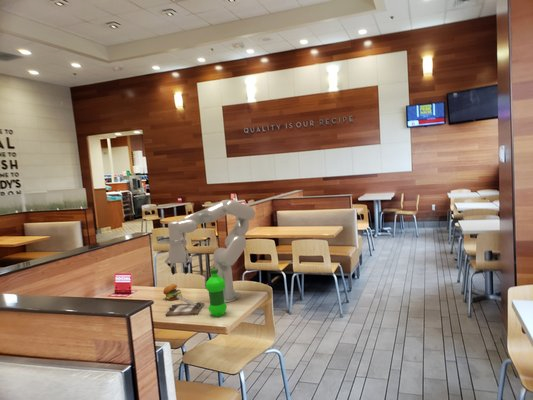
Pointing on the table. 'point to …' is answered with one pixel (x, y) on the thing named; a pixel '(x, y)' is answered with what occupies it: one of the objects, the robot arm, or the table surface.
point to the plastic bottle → (216, 293)
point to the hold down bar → (185, 300)
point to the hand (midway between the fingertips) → (180, 273)
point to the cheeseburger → (171, 292)
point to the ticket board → (184, 309)
